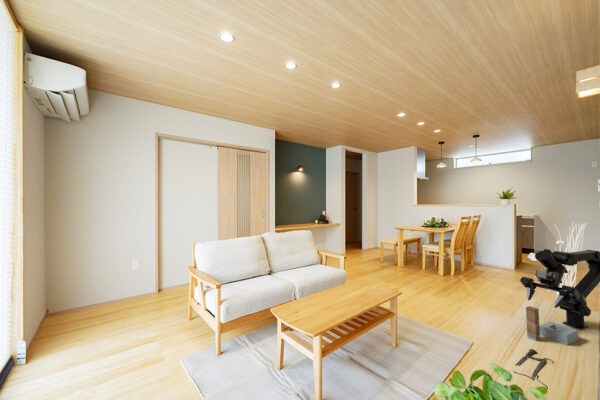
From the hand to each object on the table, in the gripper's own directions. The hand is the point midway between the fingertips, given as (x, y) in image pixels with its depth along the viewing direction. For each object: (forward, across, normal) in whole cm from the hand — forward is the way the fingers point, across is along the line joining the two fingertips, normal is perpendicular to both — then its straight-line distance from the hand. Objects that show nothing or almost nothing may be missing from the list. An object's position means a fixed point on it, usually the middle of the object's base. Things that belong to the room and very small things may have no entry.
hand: (541, 303), depth 110 cm
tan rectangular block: (+15, 0, +5) cm, 15 cm away
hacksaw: (+31, +11, -10) cm, 34 cm away
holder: (+8, +4, +12) cm, 14 cm away
